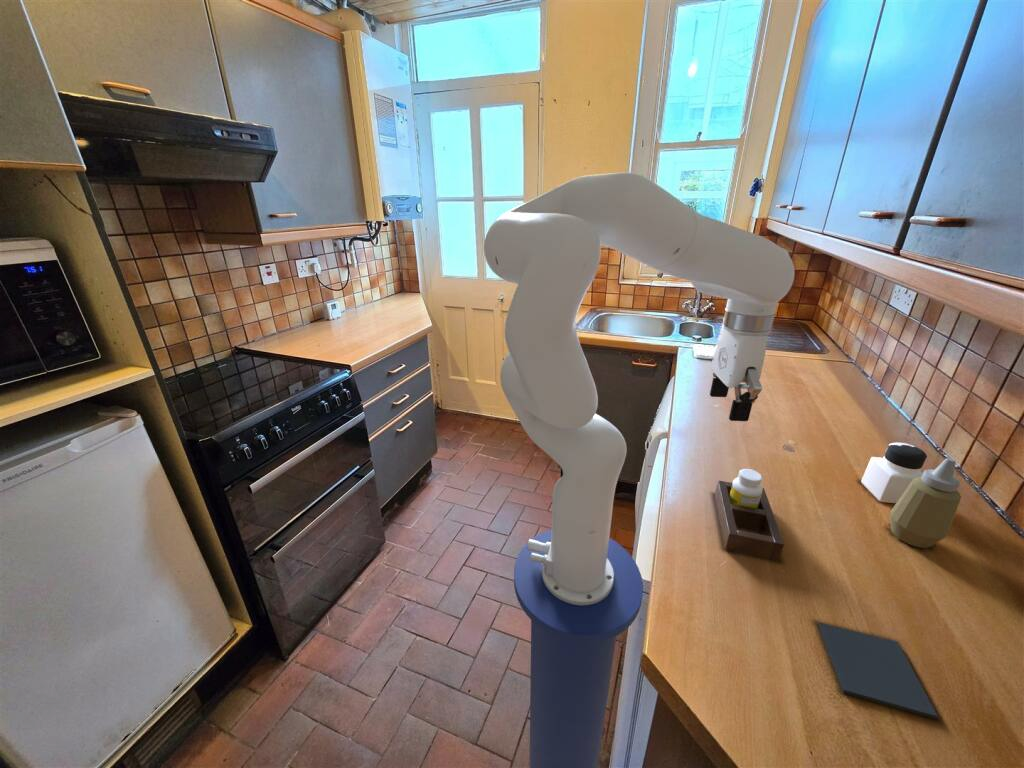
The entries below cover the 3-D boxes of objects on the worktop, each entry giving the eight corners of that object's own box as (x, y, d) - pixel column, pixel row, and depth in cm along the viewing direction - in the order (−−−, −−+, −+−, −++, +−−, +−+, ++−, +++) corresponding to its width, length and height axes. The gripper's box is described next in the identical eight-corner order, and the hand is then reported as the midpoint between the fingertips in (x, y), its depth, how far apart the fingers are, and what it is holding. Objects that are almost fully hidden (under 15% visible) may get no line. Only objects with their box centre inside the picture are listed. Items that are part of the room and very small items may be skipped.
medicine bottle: (917, 506, 86) (941, 459, 81) (879, 502, 87) (900, 456, 82) (895, 485, 92) (916, 440, 87) (859, 481, 94) (878, 437, 89)
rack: (724, 549, 76) (729, 533, 74) (714, 494, 90) (718, 480, 88) (778, 561, 73) (784, 544, 72) (759, 502, 88) (763, 488, 86)
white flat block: (693, 347, 179) (694, 343, 178) (743, 352, 172) (744, 348, 172) (693, 357, 168) (694, 353, 167) (748, 363, 161) (749, 359, 160)
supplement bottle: (724, 501, 88) (733, 464, 84) (751, 506, 87) (763, 468, 83) (728, 518, 83) (738, 480, 79) (757, 524, 82) (769, 485, 78)
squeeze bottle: (924, 559, 74) (969, 478, 66) (873, 528, 80) (909, 452, 73) (949, 545, 76) (995, 467, 69) (898, 517, 83) (935, 443, 76)
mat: (842, 692, 54) (844, 690, 54) (817, 624, 63) (818, 621, 62) (936, 719, 51) (938, 716, 51) (896, 644, 60) (898, 641, 59)
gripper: (707, 308, 79) (693, 388, 86) (746, 336, 63) (724, 430, 70) (748, 309, 78) (729, 389, 85) (797, 336, 62) (770, 431, 70)
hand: (727, 407), depth 78 cm, fingers open, 9 cm apart
